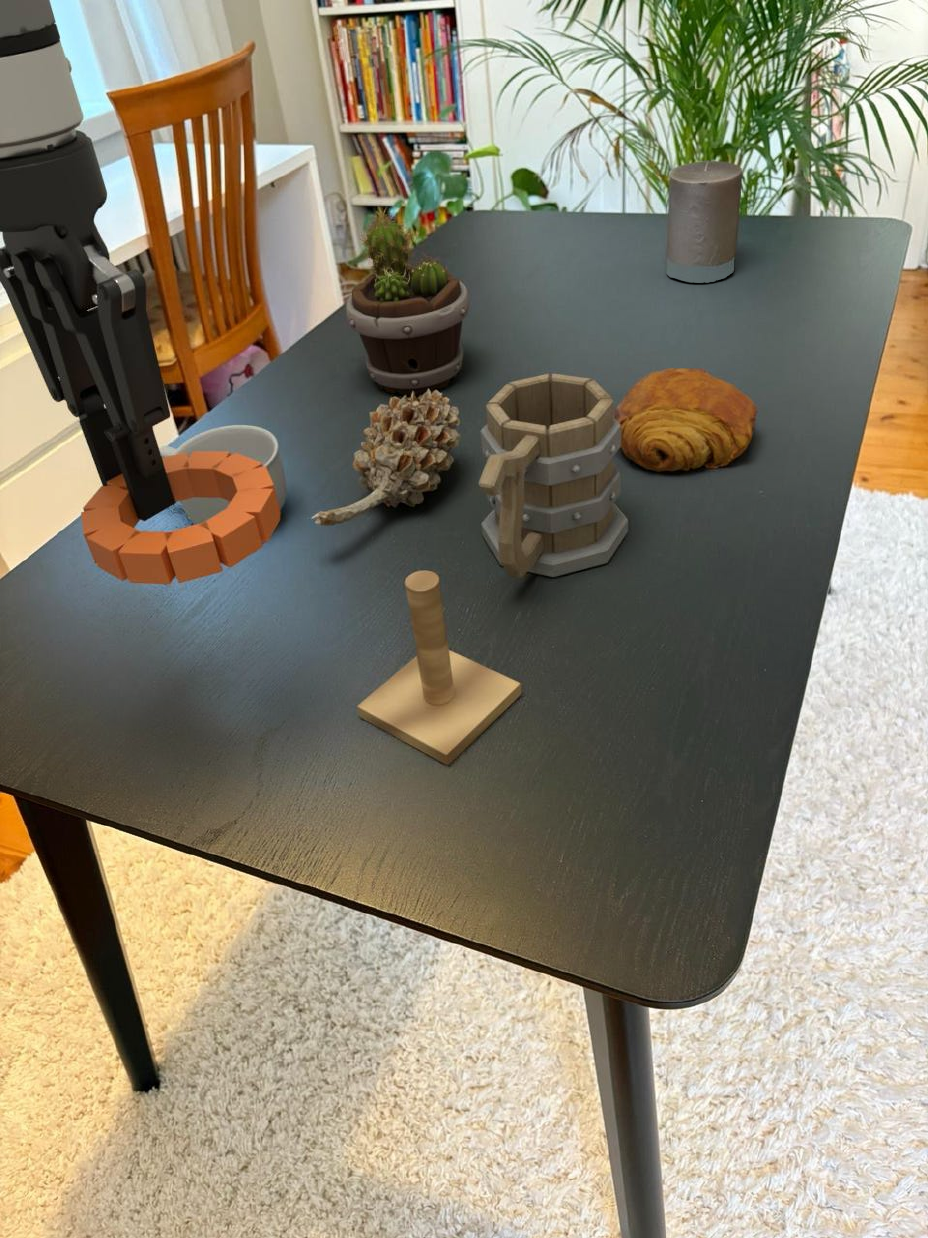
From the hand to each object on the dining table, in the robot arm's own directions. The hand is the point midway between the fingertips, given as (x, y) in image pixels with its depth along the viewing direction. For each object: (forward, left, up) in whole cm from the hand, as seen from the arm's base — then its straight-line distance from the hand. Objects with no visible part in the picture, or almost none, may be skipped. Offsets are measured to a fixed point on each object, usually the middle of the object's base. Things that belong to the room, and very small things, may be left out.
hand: (142, 503), depth 68 cm
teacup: (-19, +18, -18) cm, 32 cm away
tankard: (+12, +29, -18) cm, 37 cm away
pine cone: (-5, +28, -18) cm, 34 cm away
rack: (+17, +9, -18) cm, 26 cm away
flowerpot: (-23, +52, -18) cm, 60 cm away
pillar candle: (-9, +98, -18) cm, 100 cm away
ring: (+5, 0, 0) cm, 5 cm away
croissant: (+13, +54, -18) cm, 59 cm away
